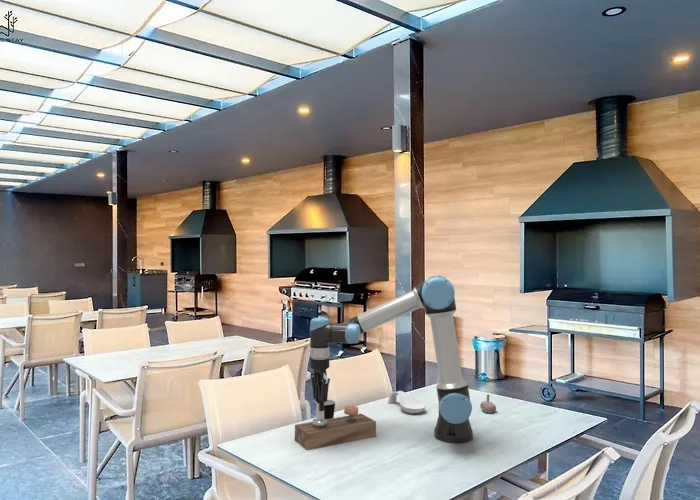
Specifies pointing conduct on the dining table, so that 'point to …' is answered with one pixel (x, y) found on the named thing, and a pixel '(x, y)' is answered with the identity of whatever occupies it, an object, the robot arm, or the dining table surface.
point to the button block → (335, 431)
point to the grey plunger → (319, 423)
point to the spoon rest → (407, 402)
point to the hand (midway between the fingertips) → (320, 418)
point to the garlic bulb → (488, 406)
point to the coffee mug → (328, 409)
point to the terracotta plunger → (351, 411)
